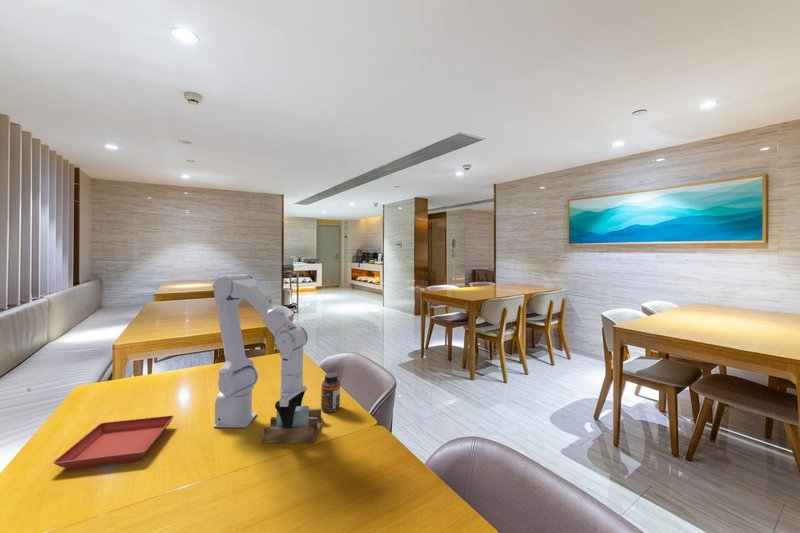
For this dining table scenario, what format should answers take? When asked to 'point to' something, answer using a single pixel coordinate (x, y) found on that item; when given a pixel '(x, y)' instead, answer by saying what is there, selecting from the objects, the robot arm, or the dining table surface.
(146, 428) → the plant saucer
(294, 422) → the grey-green rectangular block
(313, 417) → the rack
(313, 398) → the dining table surface
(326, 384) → the supplement bottle
